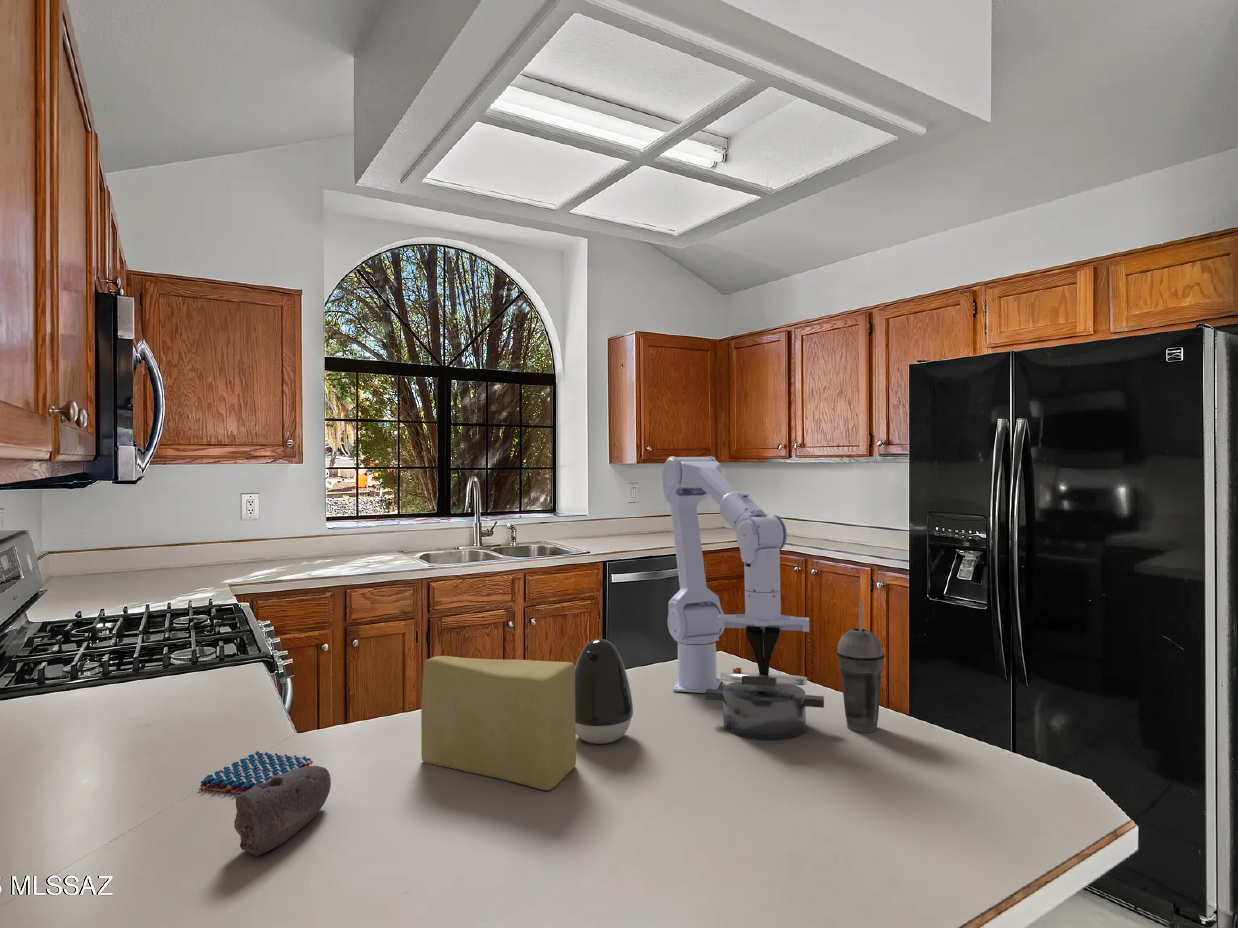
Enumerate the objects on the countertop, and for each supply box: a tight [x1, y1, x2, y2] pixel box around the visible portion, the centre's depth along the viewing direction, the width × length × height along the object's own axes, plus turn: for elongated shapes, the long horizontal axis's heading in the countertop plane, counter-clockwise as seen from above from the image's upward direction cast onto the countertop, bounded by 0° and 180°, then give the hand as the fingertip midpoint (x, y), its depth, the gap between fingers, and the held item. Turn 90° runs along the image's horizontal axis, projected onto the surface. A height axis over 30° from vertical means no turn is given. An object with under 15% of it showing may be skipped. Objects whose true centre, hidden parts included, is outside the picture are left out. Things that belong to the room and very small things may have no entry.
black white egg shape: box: [574, 638, 634, 745], centre depth 111 cm, size 10×10×15 cm
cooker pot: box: [704, 682, 825, 741], centre depth 115 cm, size 13×19×6 cm
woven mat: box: [199, 750, 314, 795], centre depth 98 cm, size 10×11×2 cm
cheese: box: [420, 655, 577, 791], centre depth 99 cm, size 22×10×15 cm, turn 71°
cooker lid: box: [720, 667, 808, 686], centre depth 114 cm, size 15×14×2 cm
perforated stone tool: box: [233, 765, 332, 857], centre depth 82 cm, size 15×5×7 cm, turn 165°
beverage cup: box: [836, 601, 886, 734], centre depth 114 cm, size 7×7×20 cm
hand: (764, 673), depth 117 cm, fingers closed, pressing on cooker lid
